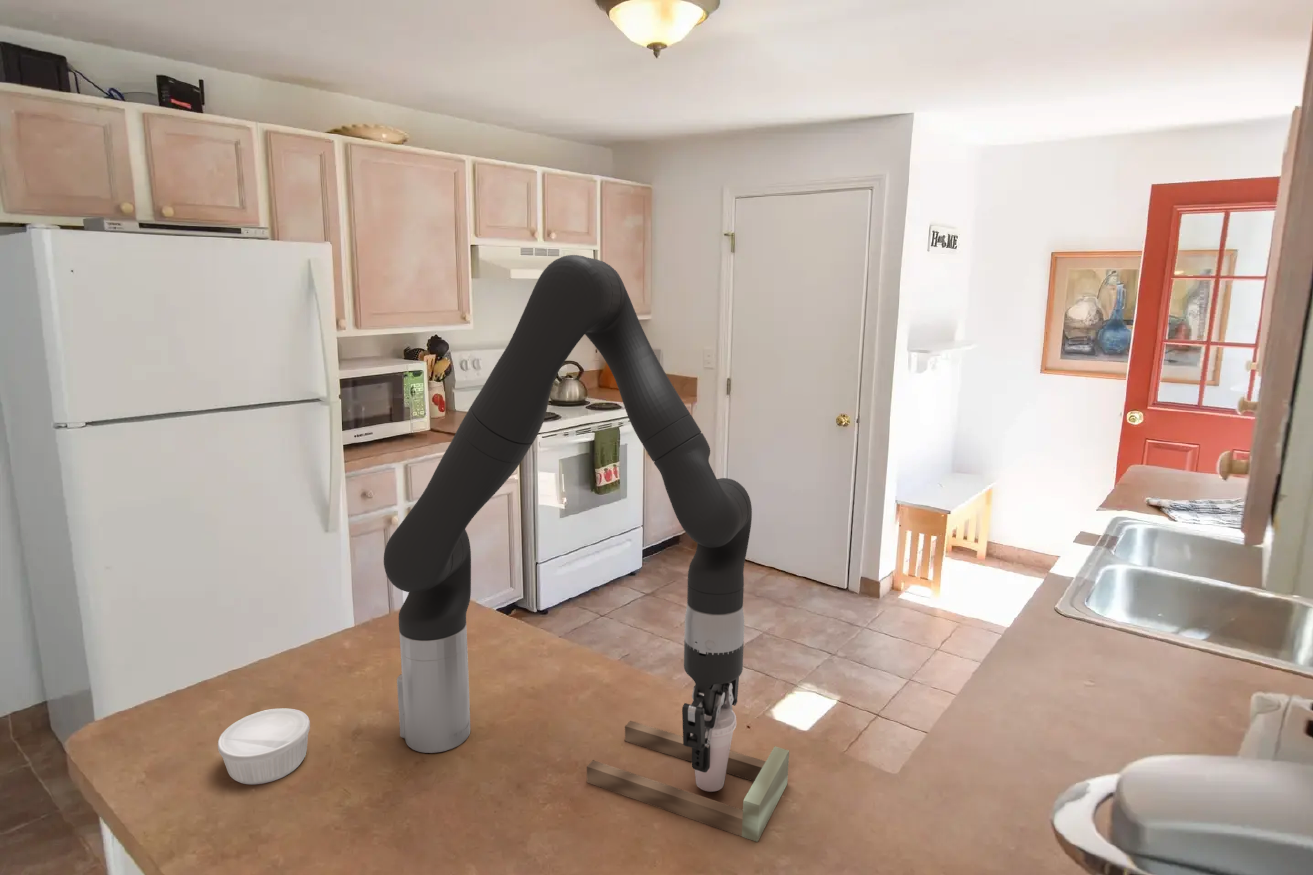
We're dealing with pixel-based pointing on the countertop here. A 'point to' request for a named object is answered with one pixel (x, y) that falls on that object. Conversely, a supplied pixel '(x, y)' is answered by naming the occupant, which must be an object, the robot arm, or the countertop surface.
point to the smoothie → (718, 752)
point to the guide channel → (744, 822)
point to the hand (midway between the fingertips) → (710, 754)
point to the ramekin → (265, 745)
